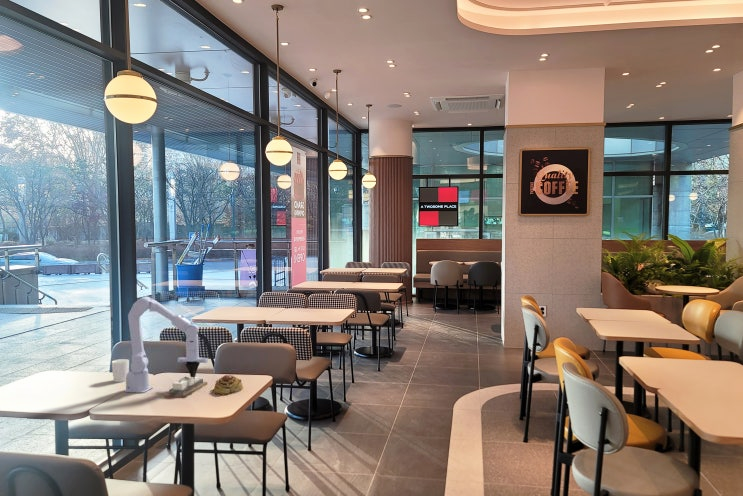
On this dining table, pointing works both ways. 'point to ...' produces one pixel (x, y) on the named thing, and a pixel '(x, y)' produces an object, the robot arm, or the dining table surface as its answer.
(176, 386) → the tile one
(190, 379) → the tile two
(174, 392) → the board
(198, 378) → the tile three
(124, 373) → the white cup
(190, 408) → the dining table surface
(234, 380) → the pastry
